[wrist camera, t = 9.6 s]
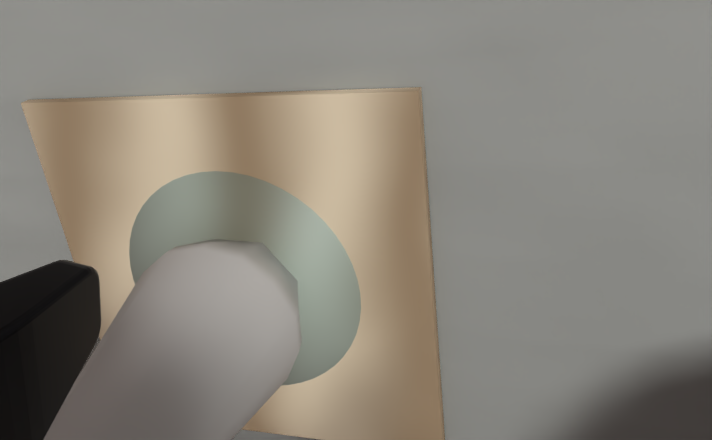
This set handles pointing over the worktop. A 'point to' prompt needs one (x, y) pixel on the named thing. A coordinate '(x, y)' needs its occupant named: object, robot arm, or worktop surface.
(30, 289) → the robot arm
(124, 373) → the salt shaker
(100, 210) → the board
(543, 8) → the worktop surface
